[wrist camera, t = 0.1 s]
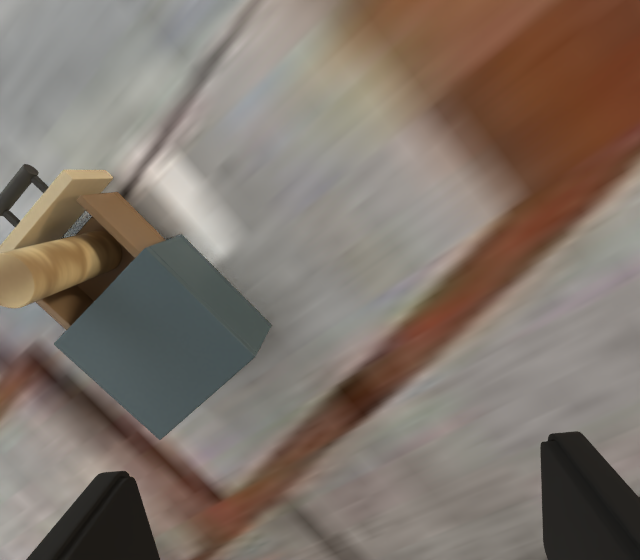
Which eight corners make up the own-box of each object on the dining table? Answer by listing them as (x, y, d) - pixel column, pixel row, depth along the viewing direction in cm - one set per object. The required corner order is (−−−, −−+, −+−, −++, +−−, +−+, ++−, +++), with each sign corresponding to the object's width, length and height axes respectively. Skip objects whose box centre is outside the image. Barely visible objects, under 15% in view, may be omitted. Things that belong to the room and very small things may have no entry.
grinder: (73, 250, 46) (-32, 279, 33) (98, 221, 45) (0, 241, 32) (104, 279, 46) (13, 319, 34) (130, 252, 45) (45, 283, 33)
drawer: (5, 225, 47) (-51, 234, 40) (75, 139, 44) (27, 134, 37) (122, 334, 49) (87, 359, 43) (196, 260, 46) (170, 275, 40)
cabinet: (102, 315, 50) (53, 344, 41) (181, 234, 46) (144, 247, 38) (190, 397, 52) (159, 440, 43) (271, 325, 48) (255, 356, 40)
